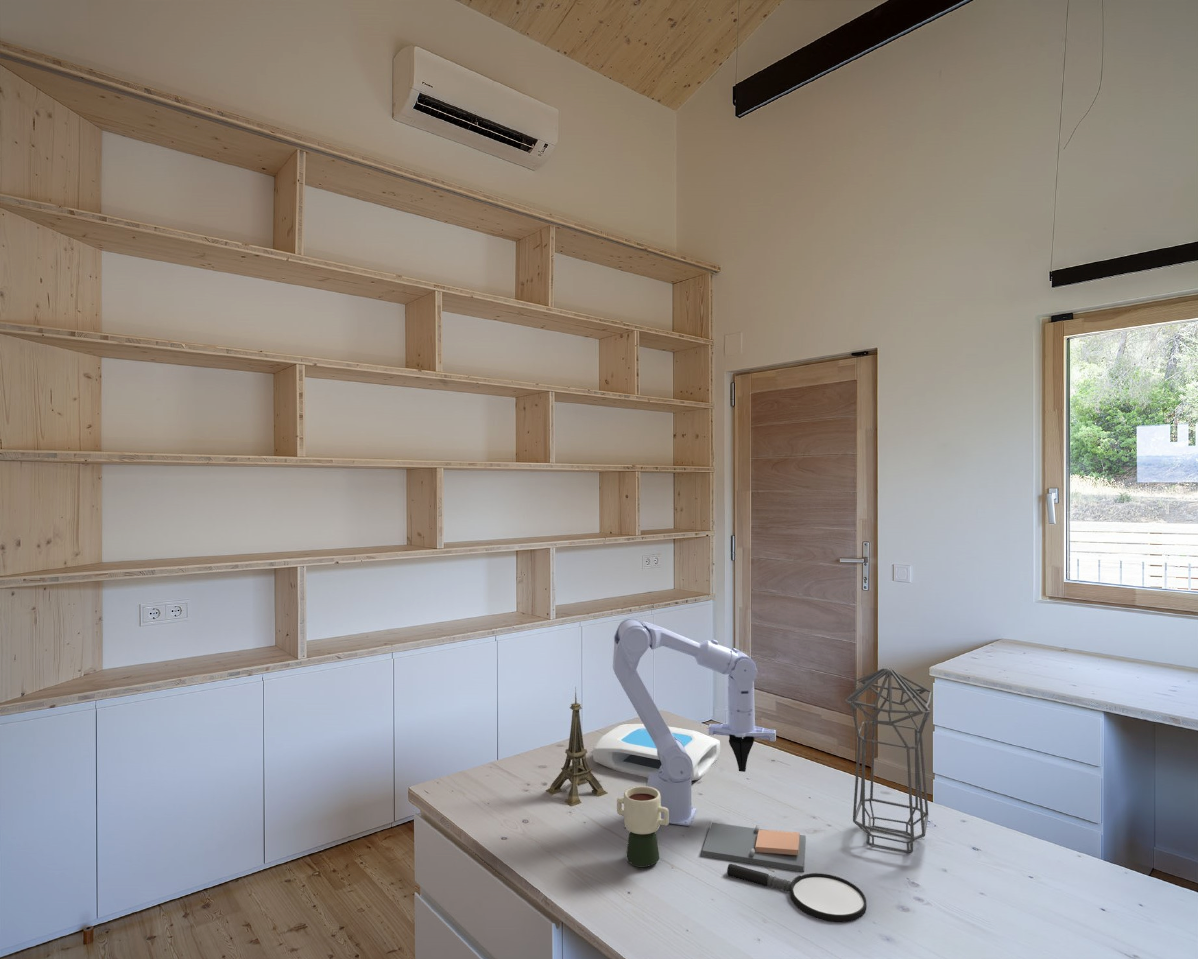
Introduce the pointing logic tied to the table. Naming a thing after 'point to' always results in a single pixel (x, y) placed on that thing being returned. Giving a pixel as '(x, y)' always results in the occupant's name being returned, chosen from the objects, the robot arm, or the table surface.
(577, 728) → the eiffel tower
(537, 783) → the table surface
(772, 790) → the table surface
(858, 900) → the magnifying glass
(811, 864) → the table surface
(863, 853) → the table surface
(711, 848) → the mat
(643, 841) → the character mug
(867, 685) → the geometric lantern
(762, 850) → the tile
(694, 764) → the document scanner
